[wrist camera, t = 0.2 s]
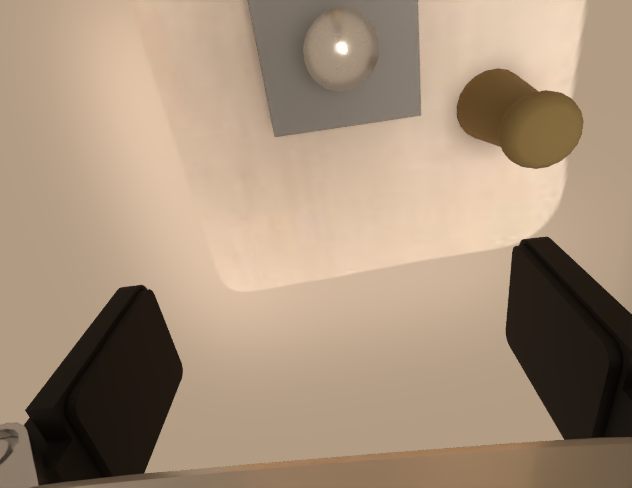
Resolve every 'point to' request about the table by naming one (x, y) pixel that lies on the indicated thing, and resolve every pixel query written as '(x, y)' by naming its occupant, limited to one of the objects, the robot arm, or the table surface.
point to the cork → (520, 118)
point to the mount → (323, 104)
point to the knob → (341, 49)
